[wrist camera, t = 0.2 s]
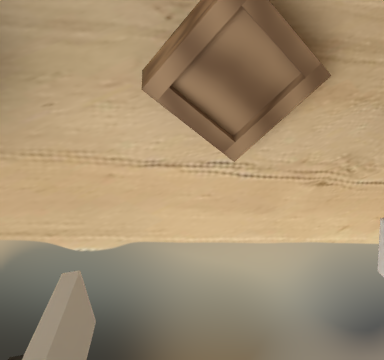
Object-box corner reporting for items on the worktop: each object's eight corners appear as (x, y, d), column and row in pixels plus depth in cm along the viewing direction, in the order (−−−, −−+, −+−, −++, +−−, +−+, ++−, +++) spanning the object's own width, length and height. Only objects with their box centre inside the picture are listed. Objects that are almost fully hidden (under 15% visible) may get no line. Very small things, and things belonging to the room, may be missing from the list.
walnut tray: (230, -37, 31) (243, -31, 27) (310, 58, 37) (331, 75, 33) (142, 70, 36) (141, 89, 32) (225, 138, 42) (234, 161, 38)
